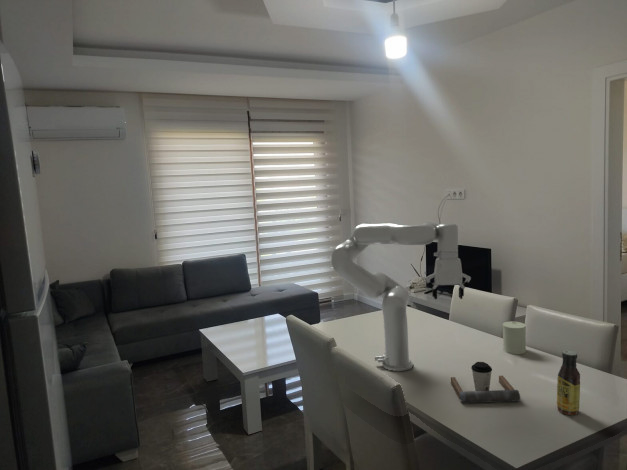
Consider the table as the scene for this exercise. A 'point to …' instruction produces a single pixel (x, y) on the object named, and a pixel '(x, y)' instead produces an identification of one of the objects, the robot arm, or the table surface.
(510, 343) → the can
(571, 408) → the sauce bottle
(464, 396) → the bay
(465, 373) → the table surface
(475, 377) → the coffee cup
